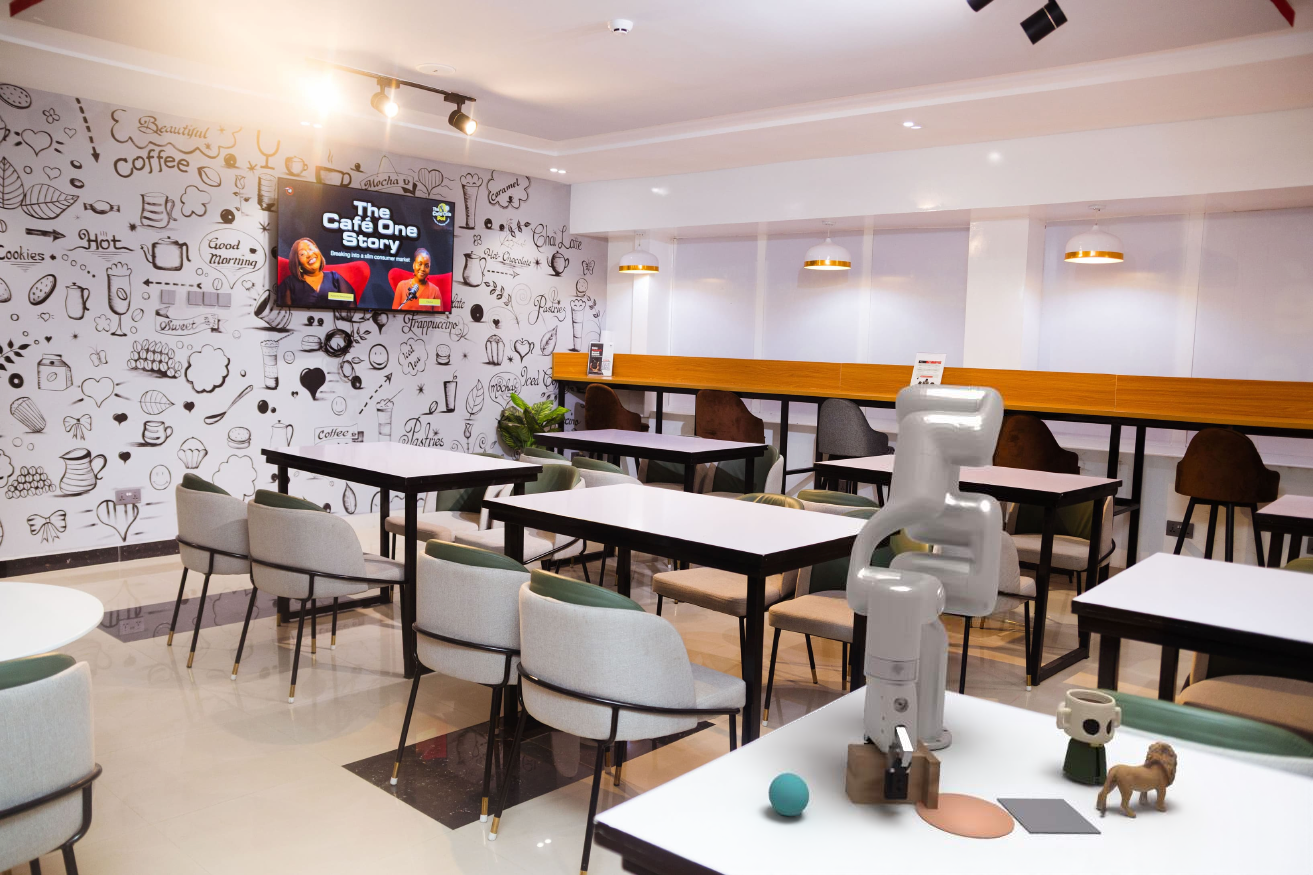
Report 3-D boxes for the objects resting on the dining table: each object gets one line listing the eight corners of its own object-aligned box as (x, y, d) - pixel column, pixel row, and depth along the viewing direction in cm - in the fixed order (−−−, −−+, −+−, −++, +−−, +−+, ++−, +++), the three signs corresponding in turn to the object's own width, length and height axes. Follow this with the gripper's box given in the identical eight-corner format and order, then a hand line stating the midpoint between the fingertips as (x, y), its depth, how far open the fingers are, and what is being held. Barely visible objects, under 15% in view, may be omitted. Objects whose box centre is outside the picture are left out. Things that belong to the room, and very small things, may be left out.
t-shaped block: (857, 809, 129) (860, 760, 128) (841, 784, 137) (844, 738, 136) (937, 810, 130) (940, 762, 129) (916, 785, 138) (919, 739, 137)
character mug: (1066, 789, 138) (1073, 705, 138) (1039, 769, 145) (1045, 689, 145) (1131, 787, 140) (1138, 703, 140) (1100, 767, 147) (1106, 688, 147)
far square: (1030, 833, 124) (1030, 831, 124) (996, 799, 134) (996, 798, 134) (1101, 833, 125) (1101, 832, 125) (1062, 800, 135) (1062, 798, 135)
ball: (759, 809, 127) (761, 770, 127) (790, 801, 130) (792, 763, 130) (784, 826, 123) (787, 786, 122) (816, 818, 125) (818, 778, 125)
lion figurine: (1149, 792, 139) (1154, 734, 138) (1183, 807, 134) (1188, 747, 134) (1085, 810, 132) (1089, 748, 131) (1119, 826, 127) (1124, 763, 127)
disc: (896, 804, 131) (896, 803, 131) (959, 787, 137) (959, 786, 137) (970, 846, 120) (970, 845, 120) (1034, 825, 126) (1034, 824, 126)
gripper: (940, 686, 123) (931, 811, 124) (896, 649, 141) (889, 759, 142) (885, 685, 123) (877, 810, 124) (848, 648, 140) (841, 758, 141)
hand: (883, 783), depth 133 cm, fingers open, 9 cm apart
